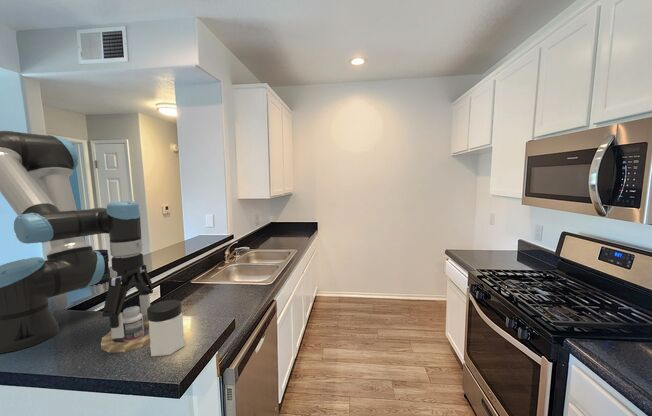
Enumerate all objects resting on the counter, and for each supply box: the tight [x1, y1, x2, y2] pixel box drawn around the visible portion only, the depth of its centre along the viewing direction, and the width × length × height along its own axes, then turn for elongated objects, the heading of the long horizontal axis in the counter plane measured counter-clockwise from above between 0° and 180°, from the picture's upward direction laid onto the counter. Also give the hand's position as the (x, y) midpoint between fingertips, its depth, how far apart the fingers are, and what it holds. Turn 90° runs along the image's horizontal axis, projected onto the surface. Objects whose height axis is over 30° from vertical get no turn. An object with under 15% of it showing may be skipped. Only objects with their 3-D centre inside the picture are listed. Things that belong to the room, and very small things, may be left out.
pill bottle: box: [122, 305, 145, 342], centre depth 83 cm, size 5×5×9 cm
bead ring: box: [100, 320, 150, 354], centre depth 84 cm, size 15×15×2 cm
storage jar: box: [90, 249, 111, 287], centre depth 134 cm, size 10×10×15 cm
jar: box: [146, 299, 185, 357], centre depth 78 cm, size 9×8×12 cm
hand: (133, 325), depth 84 cm, fingers open, 13 cm apart
